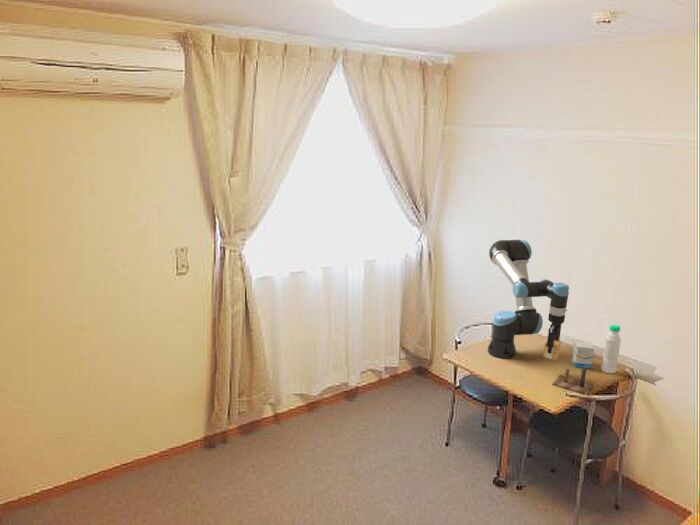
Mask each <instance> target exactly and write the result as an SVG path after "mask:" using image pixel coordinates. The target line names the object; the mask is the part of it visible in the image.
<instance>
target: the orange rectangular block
mask: <svg viewBox="0 0 700 525" xmlns="http://www.w3.org/2000/svg"><path fill="white" fill-rule="evenodd" d="M546 345H547V340H546V341H545V343H544V350H543V358H546V355H547V348H548V347H547V346H546ZM561 345H562V341H561V340H559V341H556V340H554V345H553V347H554V348H553V356H552V359H551V360H552V361H556V360H558V358H559V356H560V354H561V352H560V350H561Z"/></svg>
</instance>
